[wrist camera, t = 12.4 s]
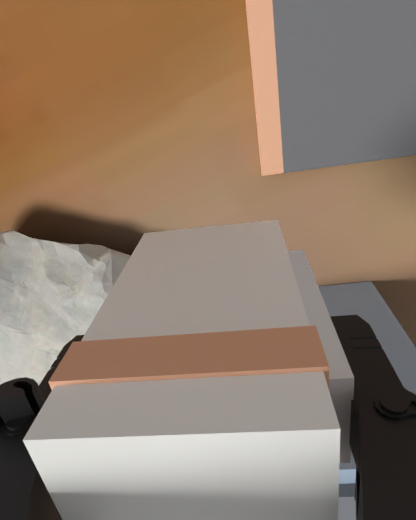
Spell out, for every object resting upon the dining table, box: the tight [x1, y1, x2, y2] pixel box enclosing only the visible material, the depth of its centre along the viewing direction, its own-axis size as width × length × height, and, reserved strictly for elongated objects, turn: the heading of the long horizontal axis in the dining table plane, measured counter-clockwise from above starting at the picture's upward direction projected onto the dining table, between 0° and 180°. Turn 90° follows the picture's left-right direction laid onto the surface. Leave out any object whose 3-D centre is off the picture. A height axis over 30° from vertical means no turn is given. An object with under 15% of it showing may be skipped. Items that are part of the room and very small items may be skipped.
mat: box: [245, 0, 416, 176], centre depth 23 cm, size 12×12×1 cm
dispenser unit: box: [318, 281, 416, 520], centre depth 26 cm, size 10×10×17 cm
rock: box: [0, 230, 131, 385], centre depth 31 cm, size 19×7×25 cm
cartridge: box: [23, 220, 341, 520], centre depth 11 cm, size 5×5×9 cm
